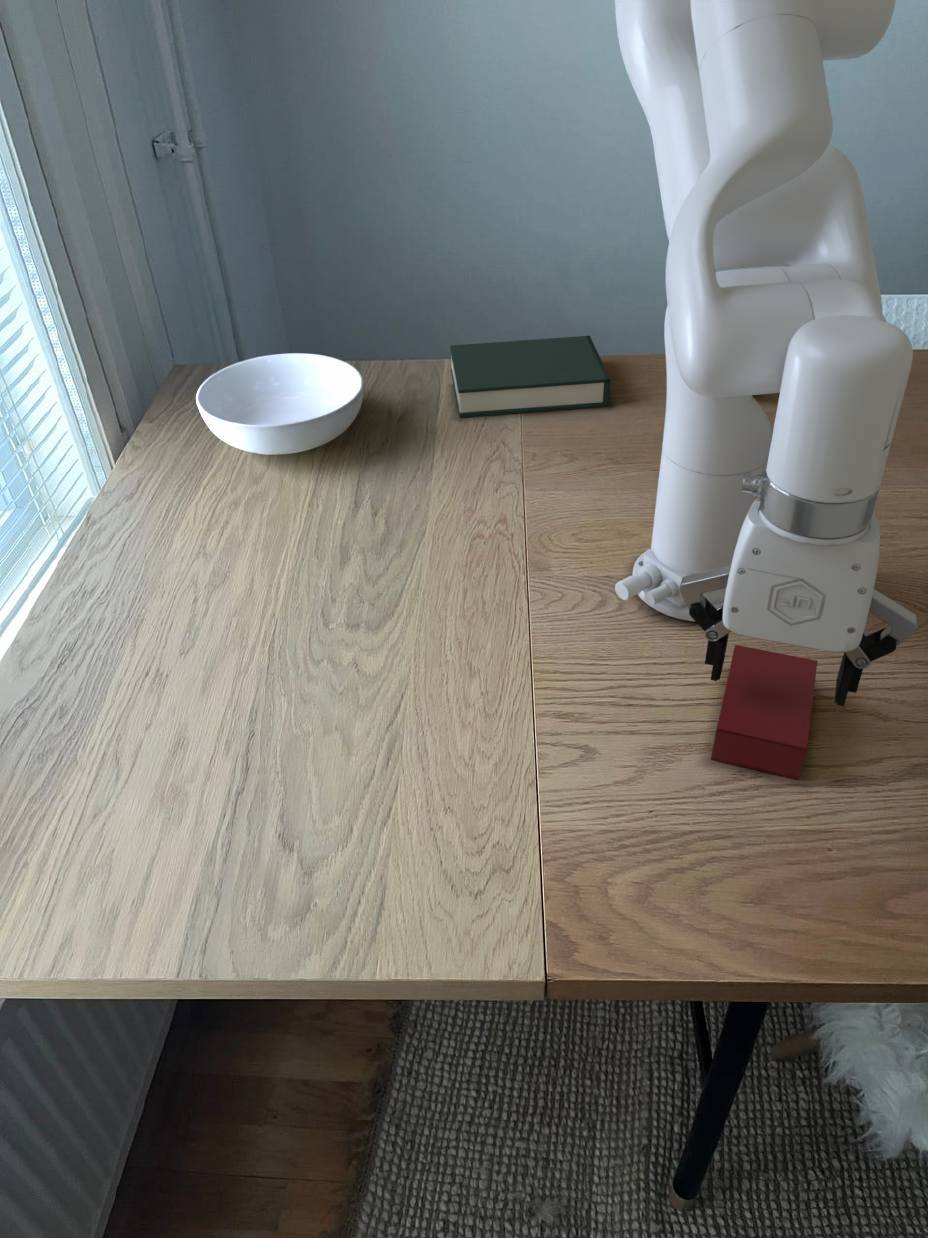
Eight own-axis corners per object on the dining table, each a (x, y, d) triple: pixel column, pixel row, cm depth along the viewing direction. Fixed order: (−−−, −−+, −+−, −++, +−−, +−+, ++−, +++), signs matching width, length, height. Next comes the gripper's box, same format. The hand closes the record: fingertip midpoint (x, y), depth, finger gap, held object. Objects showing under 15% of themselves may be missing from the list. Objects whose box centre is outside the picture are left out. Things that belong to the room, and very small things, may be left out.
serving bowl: (389, 453, 119) (384, 403, 114) (223, 491, 113) (211, 440, 109) (343, 386, 134) (337, 339, 130) (195, 416, 128) (183, 369, 124)
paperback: (798, 780, 76) (806, 750, 74) (710, 759, 78) (716, 730, 76) (809, 689, 84) (817, 660, 82) (729, 673, 86) (735, 644, 84)
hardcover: (588, 361, 137) (589, 335, 135) (608, 406, 127) (610, 378, 124) (451, 371, 136) (449, 345, 134) (459, 417, 126) (458, 389, 123)
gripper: (684, 508, 66) (662, 690, 77) (953, 547, 61) (890, 736, 72) (701, 458, 72) (678, 634, 82) (949, 491, 67) (891, 674, 77)
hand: (777, 682), depth 77 cm, fingers open, 9 cm apart
